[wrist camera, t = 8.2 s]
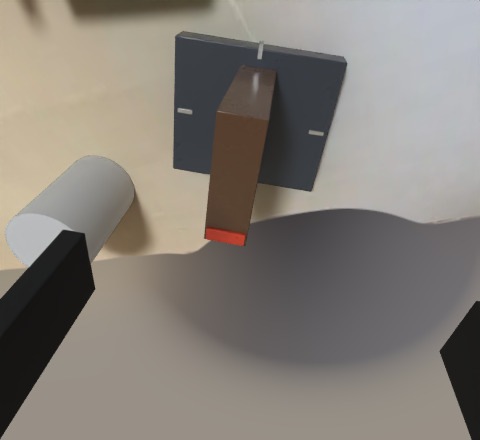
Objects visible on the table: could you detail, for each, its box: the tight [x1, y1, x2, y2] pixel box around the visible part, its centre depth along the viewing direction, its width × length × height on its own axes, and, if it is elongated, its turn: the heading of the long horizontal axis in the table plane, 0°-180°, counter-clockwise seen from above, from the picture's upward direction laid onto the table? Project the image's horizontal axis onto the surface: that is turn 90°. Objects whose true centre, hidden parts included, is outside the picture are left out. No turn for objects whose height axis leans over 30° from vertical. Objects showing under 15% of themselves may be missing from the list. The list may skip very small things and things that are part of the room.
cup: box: [5, 156, 134, 267], centre depth 39 cm, size 8×8×12 cm
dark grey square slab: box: [173, 31, 347, 191], centre depth 36 cm, size 15×14×3 cm
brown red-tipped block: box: [204, 65, 277, 246], centre depth 29 cm, size 10×3×13 cm, turn 172°
